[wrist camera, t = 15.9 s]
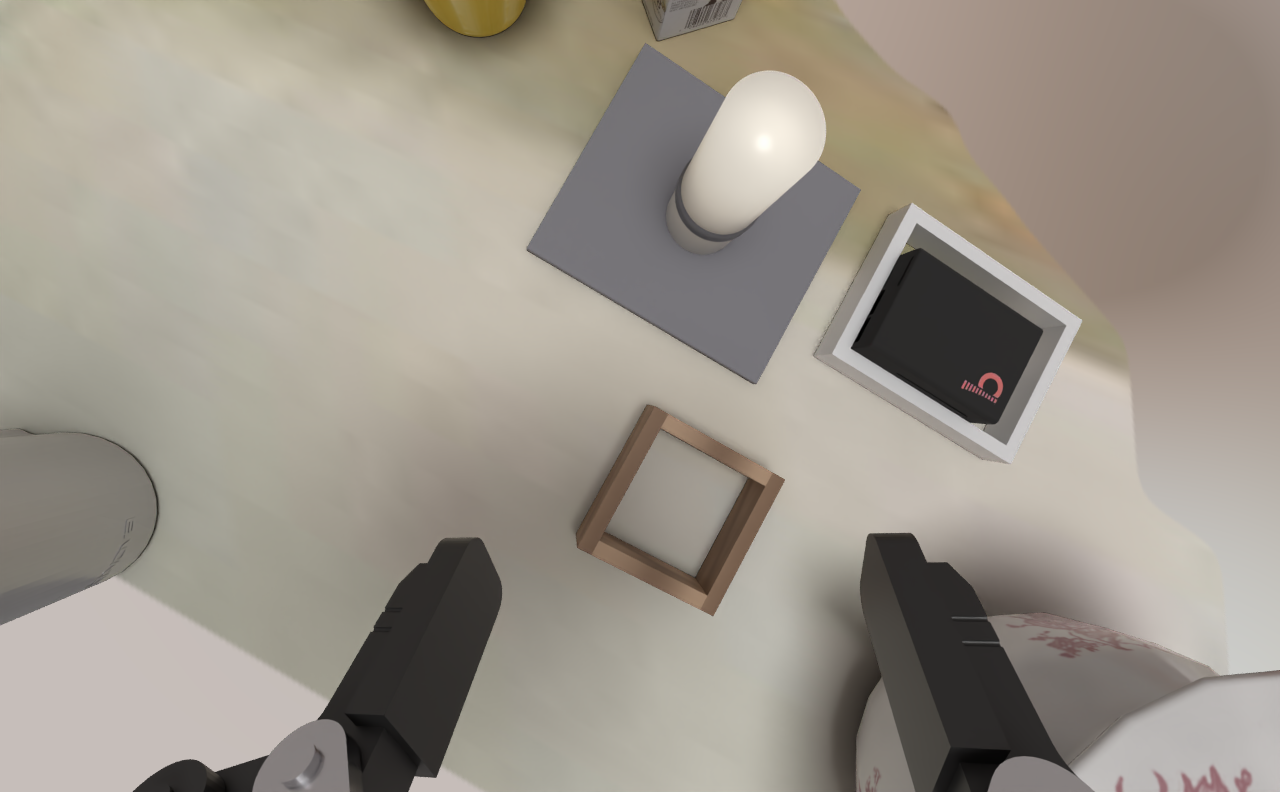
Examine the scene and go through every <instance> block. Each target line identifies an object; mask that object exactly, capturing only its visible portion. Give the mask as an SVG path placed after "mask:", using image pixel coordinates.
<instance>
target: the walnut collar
mask: <svg viewBox="0 0 1280 792" xmlns="http://www.w3.org/2000/svg"><path fill="white" fill-rule="evenodd" d="M660 429H662V430H664V431H665V432H667V433H669V434H671V435H673V436H674V437H676V438H678V439H680V440H682V441H683V442H685V443H687V444H689V445H691V446H692V447H694V448H696V449H698V450H700V451H701V452H703V453H705V454H707V455H709V456H710V457H712V458H714V459H716V460H717V461H719V462H721V463H723V464H725V465H726V466H728V467H730V468H732V469H734V470H735V471H737V472H739V473H741V474H743V475H744V476H746V477H748V480H747V482H746V484H745V486H744V488H743V490H742V491H741V493H740V495H739V497H738V499H737V501H736V503H735V505H734V506H733V508H732V510H731V512H730V514H729V516H728V518H727V520H726V521H725V523H724V525H723V527H722V529H721V531H720V533H719V535H718V536H717V538H716V540H715V542H714V544H713V546H712V548H711V550H710V551H709V553H708V555H707V557H706V559H705V561H704V563H703V565H702V567H701V568H700V570H699V572H698V574H697V576H696V578H694V577H692V576H690V575H688V574H686V573H684V572H682V571H680V570H678V569H677V568H675V567H673V566H671V565H669V564H667V563H665V562H663V561H661V560H659V559H657V558H655V557H653V556H651V555H649V554H647V553H645V552H643V551H641V550H639V549H638V548H636V547H634V546H632V545H630V544H628V543H626V542H624V541H622V540H620V539H618V538H616V537H614V536H612V535H610V534H608V533H606V532H604V531H605V529H606V527H607V525H608V524H609V522H610V520H611V518H612V516H613V514H614V513H615V511H616V509H617V507H618V505H619V504H620V502H621V500H622V498H623V496H624V494H625V493H626V491H627V489H628V487H629V485H630V483H631V482H632V480H633V478H634V476H635V474H636V472H637V471H638V469H639V467H640V465H641V463H642V462H643V460H644V458H645V456H646V454H647V452H648V451H649V449H650V447H651V445H652V443H653V441H654V440H655V438H656V436H657V434H658V432H659V430H660ZM784 481H785V479H783V478H781V477H779V476H778V475H776V474H774V473H772V472H771V471H769V470H767V469H765V468H764V467H762V466H760V465H758V464H756V463H755V462H753V461H751V460H749V459H748V458H746V457H744V456H742V455H740V454H739V453H737V452H735V451H733V450H732V449H730V448H728V447H726V446H724V445H723V444H721V443H719V442H717V441H716V440H714V439H712V438H710V437H708V436H707V435H705V434H703V433H701V432H700V431H698V430H696V429H694V428H692V427H691V426H689V425H687V424H685V423H684V422H682V421H680V420H678V419H676V418H675V417H673V416H671V415H669V414H668V413H666V412H664V411H662V410H660V409H659V408H657V407H655V406H651V405H647V406H646V407H645V409H644V411H643V413H642V415H641V417H640V418H639V420H638V422H637V424H636V426H635V427H634V429H633V431H632V433H631V435H630V436H629V438H628V440H627V442H626V444H625V446H624V447H623V449H622V451H621V453H620V455H619V456H618V458H617V460H616V462H615V464H614V466H613V467H612V469H611V471H610V473H609V475H608V476H607V478H606V480H605V482H604V484H603V485H602V487H601V489H600V491H599V493H598V495H597V496H596V498H595V500H594V502H593V504H592V505H591V507H590V509H589V511H588V513H587V515H586V516H585V518H584V520H583V522H582V524H581V525H580V527H579V529H578V531H577V533H576V540H577V548H579V549H581V550H583V551H585V552H587V553H589V554H591V555H593V556H594V557H596V558H598V559H600V560H602V561H604V562H606V563H608V564H610V565H612V566H614V567H616V568H618V569H620V570H622V571H624V572H626V573H628V574H630V575H632V576H634V577H636V578H638V579H640V580H642V581H644V582H646V583H648V584H650V585H652V586H654V587H656V588H658V589H660V590H662V591H664V592H666V593H668V594H670V595H672V596H674V597H676V598H678V599H680V600H682V601H684V602H686V603H688V604H690V605H692V606H694V607H696V608H698V609H700V610H702V611H704V612H706V613H708V614H710V615H712V616H714V614H715V612H716V610H717V608H718V606H719V604H720V602H721V600H722V599H723V597H724V595H725V593H726V591H727V589H728V587H729V585H730V583H731V581H732V580H733V578H734V576H735V574H736V572H737V570H738V568H739V566H740V564H741V563H742V561H743V559H744V557H745V555H746V553H747V551H748V549H749V547H750V545H751V544H752V542H753V540H754V538H755V536H756V534H757V532H758V530H759V528H760V526H761V525H762V523H763V521H764V519H765V517H766V515H767V513H768V511H769V509H770V508H771V506H772V504H773V502H774V500H775V498H776V496H777V494H778V492H779V490H780V489H781V487H782V485H783V483H784Z"/></svg>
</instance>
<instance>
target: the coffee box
mask: <svg viewBox="0 0 1280 792" xmlns="http://www.w3.org/2000/svg"><path fill="white" fill-rule="evenodd" d="M642 1H643V4H644V6H645V9H646V12H647V15H648V18H649V20H650V23H651V26H652V28H653V31H654V34H655V37H656V39H657V40H659V41H660V40H663V39H667V38H670V37H673V36H677V35H680V34H684V33H687V32H691V31H694V30H697V29H701V28H704V27H708V26H711V25H714V24H718V23H721V22H725V21H728V20H731V19H734V17H735V15H736V13H737V11H738V9H739V7H740V4H741V2H742V0H642Z"/></svg>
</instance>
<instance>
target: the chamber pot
mask: <svg viewBox="0 0 1280 792" xmlns="http://www.w3.org/2000/svg"><path fill="white" fill-rule="evenodd" d="M987 620H988V622H990V623H991V624H992V626H993V628H994V630H995V632H996V634H997V636H998V638H999V640H1000V645H1001V647H1003V648H1004V650H1005V652H1006V654H1007V656H1008V658H1009V659H1010V661H1011V663H1012V665H1013V667H1014V669H1015V671H1016V673H1017V675H1018V677H1019V679H1020V681H1021V683H1022V685H1023V687H1024V689H1025V691H1026V693H1027V694H1028V696H1029V698H1030V700H1031V702H1032V704H1033V706H1034V708H1035V710H1036V712H1037V714H1038V716H1039V718H1040V720H1041V722H1042V724H1043V726H1044V728H1045V729H1046V731H1047V733H1048V735H1049V737H1050V739H1051V741H1052V743H1053V745H1054V746H1055V748H1056V750H1057V752H1058V753H1059V755H1060V756H1061V757H1062V759H1063V760H1064V761H1065V763H1066V764H1067V765H1068V766H1069V768H1070V769H1071V770H1072V771H1073V772H1074V773H1075V774H1076V775H1077V776H1078V777H1079V778H1080V779H1081V780H1082V781H1083V782H1084V783H1086V784H1087V785H1088V786H1089V787H1090V788H1091V789H1092V790H1093V791H1095V792H1280V670H1277V671H1267V672H1258V673H1257V672H1256V673H1246V674H1235V675H1224V676H1220V675H1219V674H1217V673H1216V672H1215V671H1214V670H1212V669H1211V668H1210V667H1209V666H1207V665H1205V664H1202V663H1200V662H1198V661H1195V660H1193V659H1191V658H1188V657H1186V656H1184V655H1181V654H1179V653H1177V652H1174V651H1172V650H1170V649H1167V648H1165V647H1163V646H1160V645H1158V644H1156V643H1152V642H1149V641H1146V640H1143V639H1140V638H1136V637H1133V636H1130V635H1127V634H1124V633H1120V632H1117V631H1114V630H1111V629H1107V628H1104V627H1100V626H1096V625H1092V624H1088V623H1084V622H1080V621H1076V620H1072V619H1068V618H1064V617H1060V616H1056V615H1052V614H1048V613H1044V612H1041V613H1026V614H1011V615H996V616H990V617H987ZM856 792H915V789H914V785H913V782H912V778H911V775H910V772H909V768H908V765H907V761H906V758H905V754H904V751H903V748H902V744H901V741H900V737H899V734H898V730H897V727H896V724H895V720H894V717H893V713H892V710H891V706H890V703H889V699H888V696H887V693H886V689H885V686H884V682H883V679H882V677H881V679H880V680H879V682H878V683H877V685H876V686H875V688H874V689H873V691H872V692H871V694H870V696H869V698H868V701H867V704H866V707H865V710H864V714H863V717H862V720H861V723H860V726H859V730H858V733H857V736H856Z"/></svg>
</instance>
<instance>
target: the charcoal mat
mask: <svg viewBox="0 0 1280 792" xmlns="http://www.w3.org/2000/svg"><path fill="white" fill-rule="evenodd" d="M725 98H726V97H724V96H723V95H721V94H720V93H718V92H717V91H715V90H714V89H712V88H711V87H709V86H708V85H706V84H705V83H704V82H702V81H701V80H699V79H698V78H696V77H695V76H693V75H692V74H690V73H689V72H687V71H686V70H684V69H683V68H682V67H680V66H679V65H677V64H676V63H674V62H673V61H671V60H670V59H668V58H667V57H665V56H664V55H662V54H661V53H660V52H658V51H657V50H655V49H654V48H652V47H651V46H649V45H648V44H646V43H645V45H644V46H643V48H642V50H641V52H640V53H639V55H638V57H637V59H636V60H635V62H634V64H633V65H632V67H631V69H630V71H629V72H628V74H627V76H626V78H625V79H624V81H623V83H622V84H621V86H620V88H619V90H618V91H617V93H616V95H615V97H614V98H613V100H612V102H611V103H610V105H609V107H608V109H607V110H606V112H605V114H604V116H603V117H602V119H601V121H600V122H599V124H598V126H597V128H596V129H595V131H594V133H593V135H592V136H591V138H590V140H589V141H588V143H587V145H586V147H585V148H584V150H583V152H582V154H581V155H580V157H579V159H578V160H577V162H576V164H575V166H574V167H573V169H572V171H571V173H570V174H569V176H568V178H567V179H566V181H565V183H564V185H563V186H562V188H561V190H560V192H559V193H558V195H557V197H556V198H555V200H554V202H553V204H552V205H551V207H550V209H549V211H548V212H547V214H546V216H545V217H544V219H543V221H542V223H541V224H540V226H539V228H538V230H537V231H536V233H535V235H534V236H533V238H532V240H531V242H530V243H529V245H528V247H527V251H529V252H530V253H532V254H534V255H535V256H537V257H539V258H540V259H542V260H544V261H546V262H547V263H549V264H551V265H552V266H554V267H556V268H557V269H559V270H561V271H563V272H564V273H566V274H568V275H569V276H571V277H573V278H574V279H576V280H578V281H579V282H581V283H583V284H585V285H586V286H588V287H590V288H591V289H593V290H595V291H596V292H598V293H600V294H602V295H603V296H605V297H607V298H608V299H610V300H612V301H613V302H615V303H617V304H618V305H620V306H622V307H624V308H625V309H627V310H629V311H630V312H632V313H634V314H635V315H637V316H639V317H641V318H642V319H644V320H646V321H647V322H649V323H651V324H652V325H654V326H656V327H658V328H659V329H661V330H663V331H664V332H666V333H668V334H669V335H671V336H673V337H674V338H676V339H678V340H680V341H681V342H683V343H685V344H686V345H688V346H690V347H691V348H693V349H695V350H697V351H698V352H700V353H702V354H703V355H705V356H707V357H708V358H710V359H712V360H713V361H715V362H717V363H719V364H720V365H722V366H724V367H725V368H727V369H729V370H730V371H732V372H734V373H736V374H737V375H739V376H741V377H742V378H744V379H746V380H747V381H749V382H751V383H752V384H757V382H758V380H759V378H760V377H761V375H762V373H763V371H764V369H765V367H766V365H767V364H768V362H769V360H770V358H771V356H772V354H773V352H774V351H775V349H776V347H777V345H778V343H779V341H780V339H781V338H782V336H783V334H784V332H785V330H786V328H787V326H788V325H789V323H790V321H791V319H792V317H793V315H794V313H795V312H796V310H797V308H798V306H799V304H800V302H801V300H802V299H803V297H804V295H805V293H806V291H807V289H808V287H809V286H810V284H811V282H812V280H813V278H814V276H815V274H816V272H817V271H818V269H819V267H820V265H821V263H822V261H823V259H824V258H825V256H826V254H827V252H828V250H829V248H830V246H831V245H832V243H833V241H834V239H835V237H836V235H837V233H838V232H839V230H840V228H841V226H842V224H843V222H844V220H845V219H846V217H847V215H848V213H849V211H850V209H851V207H852V206H853V204H854V202H855V200H856V198H857V196H858V194H859V193H860V191H861V189H859V188H858V187H856V186H855V185H853V184H852V183H850V182H849V181H847V180H846V179H844V178H843V177H841V176H840V175H839V174H837V173H836V172H834V171H833V170H831V169H830V168H828V167H827V166H825V165H824V164H822V163H821V162H819V161H817V163H816V164H815V165H814V167H813V168H812V169H811V170H810V171H809V172H808V173H806V174H805V175H804V176H803V177H802V178H801V179H800V180H799V181H798V182H796V183H795V184H794V185H793V186H792V187H791V188H790V189H789V190H788V191H786V192H785V193H784V194H783V195H782V196H781V197H780V198H779V199H777V200H776V201H775V202H774V203H773V204H772V205H771V206H770V207H769V208H767V209H766V210H765V211H764V212H763V213H762V214H761V215H760V216H759V217H758V219H757V220H756V222H755V223H754V224H753V225H752V226H751V227H750V228H749V229H748V230H747V231H745V232H744V233H743V234H742V235H740V236H739V237H737V238H735V239H733V240H732V241H731V242H730V243H728V244H727V245H726V246H725V247H724V248H723V249H721V250H719V251H717V252H715V253H712V254H707V255H700V254H695V253H691V252H689V251H687V250H685V249H683V248H682V247H681V246H679V245H678V244H677V243H676V242H675V240H674V239H673V238H672V236H671V234H670V232H669V230H668V227H667V222H666V210H667V206H668V203H669V201H670V199H671V197H672V195H673V193H674V191H675V189H676V185H677V182H678V179H679V177H680V175H681V173H682V171H683V169H684V168H685V166H686V165H687V163H688V162H689V161H690V160H691V159H692V158H693V156H694V155H695V153H696V151H697V149H698V147H699V145H700V144H701V142H702V140H703V138H704V136H705V134H706V133H707V131H708V129H709V127H710V125H711V124H712V122H713V120H714V118H715V116H716V114H717V113H718V111H719V109H720V107H721V105H722V103H723V102H724V100H725Z"/></svg>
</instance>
